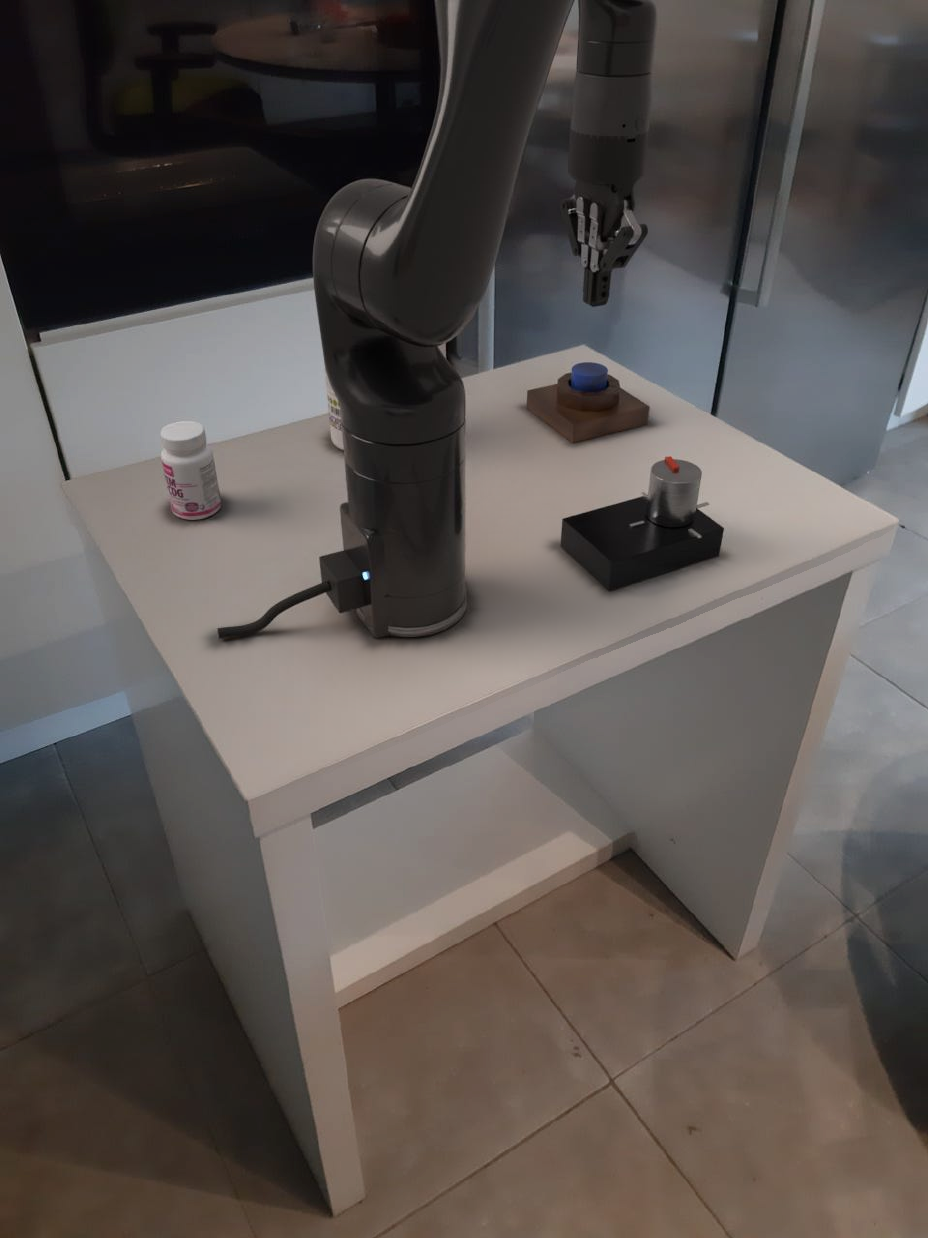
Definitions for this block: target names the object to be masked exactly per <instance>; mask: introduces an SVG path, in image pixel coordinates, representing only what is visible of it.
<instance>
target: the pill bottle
mask: <svg viewBox="0 0 928 1238" xmlns="http://www.w3.org/2000/svg"><path fill="white" fill-rule="evenodd" d="M159 433H160V440H161V445H162V450H161V453H160V459H161V464H162V469H163V474H164V479H165V483H166V488H167V494H168V499H169V503H170V508H171V512H172V513H173V514H174V516H176V517H178V518H179V519H183V520H189V521H196V520H203V519H206V518H210V517H211V516H213V515H215V514H216V513H217V512H218V511H219V510H220V509H221V507H222V498H221V492H220V486H219V480H218V476H217V475H218V474H217V469H216V463H215V457H214V453H213V448H212V447H211V445H210V444H209V443H207V436H206V430H205V427H204V425H203V424H201V423H199V422H196V421H191V420H180V421H176V422H175V421H174V422H172V423H168V424H167V425H165V426H163V428H162V429H161V430H160V432H159Z"/></svg>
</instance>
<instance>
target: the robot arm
mask: <svg viewBox="0 0 928 1238" xmlns="http://www.w3.org/2000/svg"><path fill="white" fill-rule="evenodd" d="M575 1H576V0H434V9H435V22H436V33H437V43H438V56H439V57H438V58H439V59H438V60H439V86H438V87H439V88H438V95H437V103H436V109H435V115H434V118H433V122H432V126H431V130H430V133H429V137H428V139H427V143H426V146H425V150H424V152H423V156H422V158H421V163H420V165H419V168H418V171H417V172H416V173H417V174H416V175H415V178H414V180H413V184H412V186H411V187H410V186H407V185H403V184H400V183H396V182H393V181H389V180H386V179H381V178H363V179H362V178H361V179H358V180H355V181H352V182H351V183H348V184H347V185H345V186H343V187H341V188H340V189H339V190H338V191H337V192H336V193H334V194H333V195H332V197H331V198H330V199H329V201H328V202H327V204H326V205H325V207H324V209H323V211H322V213H321V215H320V216H319V220H318V223H317V226H316V230H315V234H314V239H313V247H312V279H313V290H314V298H315V307H316V312H317V313H316V314H317V321H318V327H319V328H318V329H319V335H320V343H321V349H322V350H321V351H322V356H323V364H324V363H325V367H324V370H325V369H326V373H327V377H328V380H329V383H330V385H331V387H332V389H333V391H334V393H335V395H336V397H337V399H338V402H339V406H340V413H341V421H342V422H341V423H342V435H343V447H344V450H343V458H344V471H345V482H346V483H345V484H346V493H347V494H346V495H347V501H346V502H343V503H340V505H339V514H340V525H341V537H342V546H343V547H342V548H343V549H342V550H340V551H336V552H333V553H329V554H325V555H321V556H319V557H318V561H319V569H320V570H319V571H320V578H321V582H320V583H317V584H315V585H313V586H311V587H308V588H306V589H303V590H300V591H298V592H296V593H294V594H291V595H290V596H287V597H286V598H284V599H282V600H280V601H279V602H277V603H275V604H274V605H273V606H271V607H269V609H268V610H267V611H266V612H265V613H264V614H263V615H262V616H261V617H260V618H259V619H257V620H255V621H253V622H250V623H247V624H243V625H234V626H233V625H232V626H225V627H218V628H217V634H218V639H225V638H236V637H243V636H244V637H245V636H248V635H249V636H250V635H252V634H255V633H258V632H260V631H262V630H264V629H265V628H266V627H268V626H269V625H270V624H271V623H272V622H273V621H274V620H275V619H276V618H277V617H278V616H279V615H281V614H282V613H284V612H285V611H287V610H289V609H291V608H293V607H295V606H297V605H299V604H301V603H304V602H305V601H308V600H310V599H313V598H316V597H318V596H320V595H323V594H325V595H327V597H328V598H329V600H330V602H331V603H332V604H333V606H334V607H335V609H336V610H337V611H338V613H339V614H344V613H347V612H350V611H353V610H354V611H355V612H356V614H357V616H358V618H359V619H360V620H361V621H362V622H363V624H364V625H365V626H366V628H367V629H368V631H369V632H370V633H371V635H372V636H373V637H374V638H376V639H379V638H382V637H386V636H387V637H388V636H392V637H399V638H401V637H402V638H413V637H414V638H416V637H425V636H430V635H434V634H437V633H440V632H442V631H445V630H446V629H448V628H451V627H452V626H454V624H456V623H458V621H459V620H460V619H461V618H462V617H463V615H464V614H465V611H466V609H467V605H468V593H467V592H468V591H467V579H466V577H467V575H466V574H467V572H466V571H467V570H466V556H467V555H466V551H467V550H466V543H467V541H466V539H467V538H466V536H467V535H466V531H467V530H466V526H467V525H466V515H467V514H466V512H467V511H466V500H467V499H466V454H467V453H466V452H467V451H466V450H467V449H466V447H467V444H466V441H467V440H466V432H467V431H466V429H467V427H466V425H467V424H466V421H467V420H466V416H467V415H466V411H467V410H466V409H467V408H466V407H467V406H466V405H467V404H466V399H467V398H466V389H465V385H464V381H463V379H462V377H461V376H460V374H459V373H458V371H457V370H456V369H455V367H454V366H453V365H452V364H451V363H450V362H449V360H448V359H447V358H446V357H445V355H444V354H443V352H442V351H441V349H440V348H439V347H441V346H443V345H444V344H446V343H448V342H450V341H452V340H453V339H454V338H456V337H457V336H458V335H459V334H460V333H462V332H463V331H464V329H465V328H466V327H467V326H468V324H469V323H470V322H471V320H472V319H473V318H474V316H475V314H476V312H477V310H478V309H479V307H480V304H481V303H482V301H483V299H484V297H485V294H486V292H487V289H488V286H489V283H490V281H491V278H492V274H493V271H494V268H495V265H496V262H497V258H498V254H499V249H500V246H501V243H502V239H503V236H504V231H505V227H506V224H507V219H508V215H509V211H510V207H511V204H512V199H513V195H514V192H515V189H516V184H517V179H518V176H519V172H520V168H521V165H522V161H523V157H524V154H525V150H526V147H527V143H528V140H529V136H530V134H531V133H530V132H531V129H532V127H533V123H534V119H535V116H536V113H537V110H538V108H539V104H540V102H541V98H542V96H543V93H544V90H545V86H546V84H547V80H548V78H549V75H550V72H551V71H550V70H551V69H552V66H553V62H554V59H555V55H556V53H557V50H558V47H559V44H560V41H561V38H562V35H563V32H564V29H565V26H566V24H567V21H568V19H569V16H570V13H571V11H572V8H573V6H574V3H575ZM577 5H578V7H577V8H578V31H577V33H578V34H577V52H576V67H575V68H576V70H575V78H574V83H573V89H572V95H571V105H570V106H571V107H570V121H569V122H570V124H569V140H568V156H567V157H568V159H567V174H568V176H569V177H570V178H571V179H573V180H574V181H575V184H574V188H573V195H572V196H571V197H569V198H565V199H563V198H562V199H561V200H560V202H559V208H560V209H559V210H560V212H561V216H562V219H563V224H564V227H565V230H566V234H567V238H568V241H569V244H570V245H569V246H570V247H571V252H572V254H573V256H574V257H579V258H580V264H581V266H582V267H583V268H584V269H583V282H582V285H583V286H582V301H583V303H585V304H586V305H588V306H590V307H592V308H596V307H601V306H605V305H606V304H607V303H608V302H609V298H610V290H611V282H612V281H611V280H612V272H613V270H615V269H623V268H626V267H627V265H628V264H629V262H630V261H631V260H632V258H633V256H634V255H635V254H636V252H637V251H638V249H639V247H640V246H641V245H642V243H643V242H644V240H645V238H646V237H647V235H648V232H649V229H648V225H647V224H646V223H640V224H639V223H638V221H637V218H636V216H635V215H634V211H635V208H636V200H635V192H634V191H635V190H634V188H635V185H636V184H637V182H638V181H640V180H641V179H642V178H643V177H644V175H645V171H646V163H647V162H646V160H647V152H648V143H649V133H650V132H649V131H650V122H651V114H652V113H651V111H652V103H653V102H652V100H653V86H652V83H653V81H652V78H653V68H654V67H653V66H654V57H655V47H656V45H655V44H656V37H657V26H658V7H657V5H656V3H655V2H654V1H653V0H577Z"/></svg>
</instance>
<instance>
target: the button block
mask: <svg viewBox="0 0 928 1238" xmlns="http://www.w3.org/2000/svg"><path fill="white" fill-rule="evenodd" d="M571 373H572V371H571V372H567V373H564V374H563V375H562V376H560V377H559V378H557V383H554V384H550V385H544V386H541V387H536V388H532V389H528V390H526V409H527V410H529V411H530V412H531V413H532V414H534V415H535V416H536V417H538V418H539V419H540V420H541V421H543V422H544V423H545V424H547V425H548V426H549V427H551V428H552V429H554V431H556V432H557V433H559V434H560V435H561V436H562V437H564V438H565V439H566V440H568V441H569V442H570V443H571V444H574V443H578V442H582V441H587V440H590V439H594V438H598V437H602V436H606V435H607V436H608V435H611V434H614V433H619V432H623V431H627V430H631V429H634V428H635V429H636V428H638V427H639V428H640V427H642V426H646V425H648V423H649V416H650V409H651V408H650V406H649V404H647V403H645V402H644V401H643V400H641V399H639V398H638V397H636V396H634V395H633V394H632V393H629V392H628V391H627V390H625V389H624V388H622V387H621V385H620V380H619V379H618V378H615V377H614V376H612V375H611V374H609V373H608V376H607V386H606V389H605V390H602V391H597V392H583V391H580V390H576V389H573V388H572V387H571Z"/></svg>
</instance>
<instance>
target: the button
mask: <svg viewBox="0 0 928 1238" xmlns="http://www.w3.org/2000/svg"><path fill="white" fill-rule="evenodd" d="M571 372H572V373H571ZM571 372H570V373H571V387H572V388H573V389H576V390H580V391H583V392H597V391H602V390H605V389H606V386H607V376H608V374H609V369H608V366H606V365H604V364H601V363H598V362H591V361H585V362H579V363H576V364H574V365H573V366H571Z"/></svg>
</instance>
